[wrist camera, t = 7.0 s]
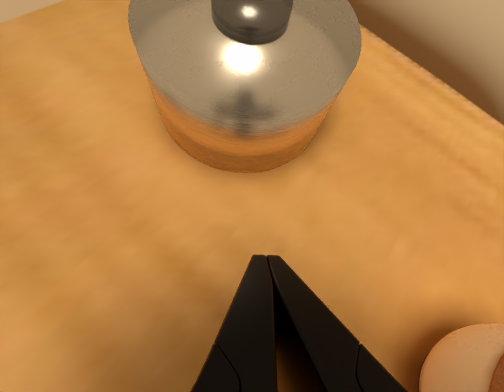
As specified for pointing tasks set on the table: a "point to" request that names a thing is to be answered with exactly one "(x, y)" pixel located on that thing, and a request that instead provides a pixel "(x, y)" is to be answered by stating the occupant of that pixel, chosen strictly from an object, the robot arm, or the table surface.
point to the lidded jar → (466, 361)
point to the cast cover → (245, 73)
